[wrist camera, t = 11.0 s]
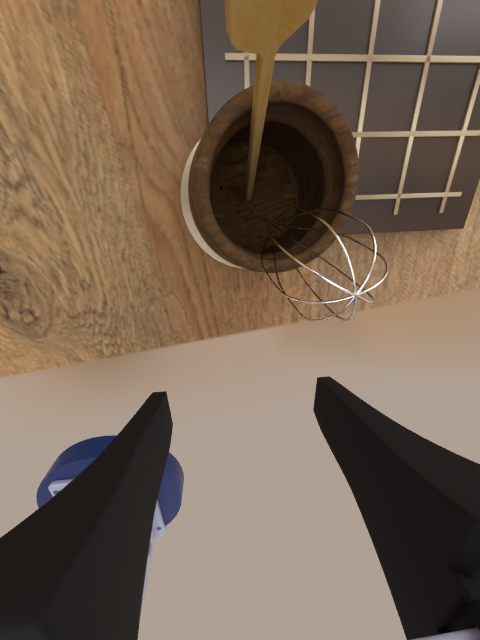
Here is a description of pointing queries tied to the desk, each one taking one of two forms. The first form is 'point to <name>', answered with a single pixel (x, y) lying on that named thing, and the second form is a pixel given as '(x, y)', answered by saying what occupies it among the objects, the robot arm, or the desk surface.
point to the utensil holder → (276, 162)
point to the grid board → (377, 101)
